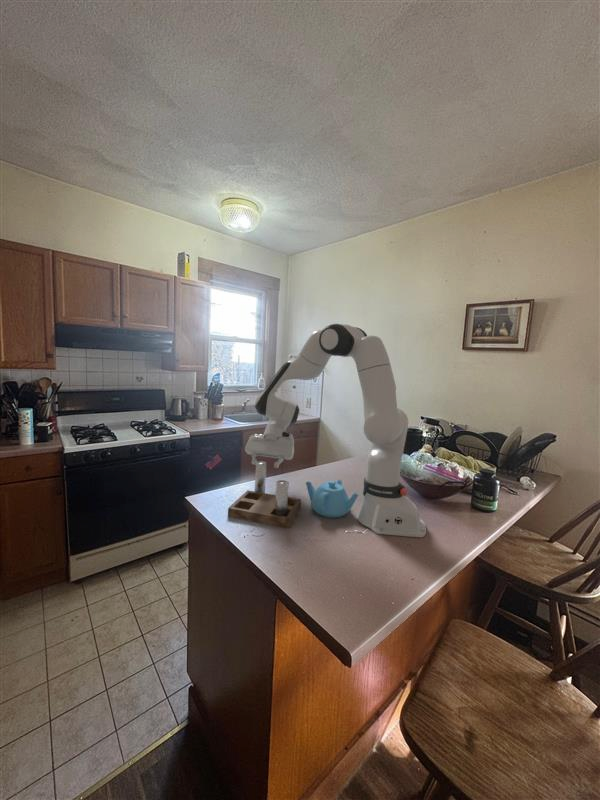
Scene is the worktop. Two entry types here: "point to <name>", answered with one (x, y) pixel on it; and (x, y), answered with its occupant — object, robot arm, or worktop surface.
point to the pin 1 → (260, 477)
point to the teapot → (330, 499)
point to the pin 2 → (281, 498)
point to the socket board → (263, 509)
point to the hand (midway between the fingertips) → (264, 465)
